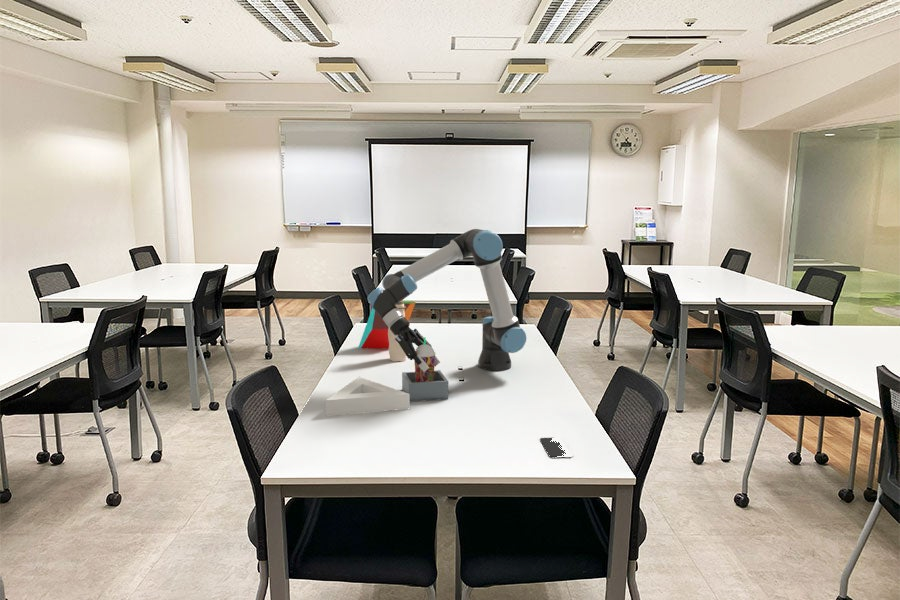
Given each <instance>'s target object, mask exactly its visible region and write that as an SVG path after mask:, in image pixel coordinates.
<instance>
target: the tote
mask: <svg viewBox="0 0 900 600" xmlns="http://www.w3.org/2000/svg"><path fill="white" fill-rule="evenodd" d="M401 373H402V374H401V376H402V378H401V379H402V380H401V382H402V383H401V384H402V386H401V389H402V390H401V391H402V392H405V393H408V394H410V401H411V402H422V401H421V400H426V401H438V400H437V399H441V400H448V399H449V379H447V378H446V376H445V375H444V373H442V372H441V370H440V369H438V370H434V380H433V381H431V382H416V378H415V371H406V372H405V371H402V372H401Z"/></svg>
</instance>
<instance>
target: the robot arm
mask: <svg viewBox="0 0 900 600" xmlns="http://www.w3.org/2000/svg"><path fill="white" fill-rule="evenodd" d="M503 248H504V247H503V240H502V239H501V237H500V236H499V235H498V234H497V233H496V232H494V231H492V230H488V229H479V228H473V229H470V230H467V231H466V232H464V233H462V234H460V235H458V236H457V237H455V238H453V239H451V240H450V242H449V243H448V244H447V245H444V246H443V247H441V248H439V249H437V250H436V251H433V252H432V253H430V254H428V255H426V256H425V257H423V258H420V259H419V260H417V261H415V262H413V263H411V264H410V265H408V266H405V267H404V268H403V269H400V270H399V271H397V272H395V273H390V274H387V275H385V276H384V277H383V279H382V281H381V282H382V284H381V285H382V287H377V288H375V289H373V290H372V291H371V292H370V293H369V294H368V296H367V302H368V303H369V304H370V306H371V307H372V308H374V310H375V311H376V312H377V313H378V315H379V316H380V317H381V318H382V320H383V321H384V322H385V324H386V325H387V326H388V327H390V330H391V331H392V332H393V334H394V335H398V336H397V337H396V338H395V340H396V341H397V342H398V343H399V345H400V346H401V348H402V349H403V351H404V353H405V354H406V359H408V360H410V361H413V360H414V363H415V362H416V363H417V364H418V365H419V367H420V368H421V369H422V371H423V372H425V371H426V370H427V369H428V368H429V367H428V365H427V364H426V363H425V362H424V360H423V359H422V358H421V357H420V355H417V353H416V349H415V346H414V345H416V346H417V348H418V347H419V346H420V345H422V344H424V336H423V335H422V334H421V333H420V331H418V329H417V328H414V329H412V328H410V321H409V322H408V321H407V319H406V318H405V317H403V314H402V313H401V312H400V311H399V309H398V308H397V307H396V306H395V305H396V304H398V303H399V302H400V301H404V299H406V298H408V296H410V295H412V294H413V293H414V292H415V291H416V290H417V289H418V285H417V282H418V281H421V280H423V279H424V278H426V277H428V276H430V275H432V274H434V273H435V272H437V271H439V270H441V269H443V268H445V267H446V266H448V265H450V264H452V263H454V262H456V261H458V260H459V261H463V260H464V259H466V258H470V257H472V259H473V262H474V266H475V267H477V268H478V269H479V270H480V275H481V278H482V281H483V285H484V289H485V293H486V297H487V300H488V304H489V308H490V310H491V313H492V314H491V315H492V316H486V317H484V318H483V319H482V340H481V341H482V342H481V344H482V347H481V348H482V349H481V352H480V355H479V357H478V361H477V366H478V368H480V369H483V370H487V371H505V370H509V369H511V367H512V360H511V356H510V354H515V353H518V352H520V351H521V350H522V349H523V348H524V346H525V345H526V343H527V333H526V332H525V330H524V329H523V327H521V326H520V321H519V318H518V317H517V316H515V315H514V313H513V309H512V304H511V301H510V298H509V294H508V290H507V286H506V282H505V279H504V275H503V272H502V268H501V264H500V263H501V262H502V259H503V256H502V251H503ZM413 344H414V345H413ZM426 344H427V345H429V346H431V347H432V348H433V346H432V344H431V343H430V342H429V341H428V340H427V339H426ZM440 363H441V361H440V360H439V359H438V357H437V356H436V355H435V366H434V367H437V366H438V365H439V364H440Z"/></svg>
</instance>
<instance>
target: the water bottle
mask: <svg viewBox="0 0 900 600" xmlns="http://www.w3.org/2000/svg"><path fill="white" fill-rule="evenodd" d="M403 301H404V300H402V301H400V302H399V303H398V304H396V305H395V306H396V307H397V308H398V309H399V311H400V312H401V313H402V314H403V317H405V312H404V308H406V306H404V304H403ZM397 336H398V335H394V334H393V332H392V331H391V330H390V327H389V328H388V339H389V348H388V354H389V360H390V361H391V360H392V361H391V362H396V361H400V362H405V361H407V356H406V354H405V353H404V351H403V349H402V348H401V346H400V345H399V343H398V342H397V341H396V340H395V338H396V337H397Z"/></svg>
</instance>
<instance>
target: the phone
mask: <svg viewBox="0 0 900 600" xmlns="http://www.w3.org/2000/svg"><path fill="white" fill-rule="evenodd" d="M552 438H553V437H540V438H539V440H541V441H540V443H541V442H542V443H541V444H543V445H544V446H543V445H542V446H543V448H544V447H545V448H544V450H545V449H546V450H545V452H546V451H547V452H548V454H549V455H550V456H551V457H557V456H562V455H563V454H564V453H565V452H564V451H565V450H564V451H563V450H561V449H562V448H561V447H562V446H561V445H560V443H559V442H558V443H557V442H556V441H555V442H556V443H555V442H554V441H553V442H552V441H551V440H552ZM550 441H551V442H550ZM559 445H560V446H561V447H560V446H559ZM558 446H559V447H560V448H561V449H560V448H559V447H558ZM547 452H546V453H547ZM562 453H563V454H562ZM548 454H547V455H548ZM565 454H566V453H565ZM549 455H548V456H549ZM563 456H564V455H563Z"/></svg>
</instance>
